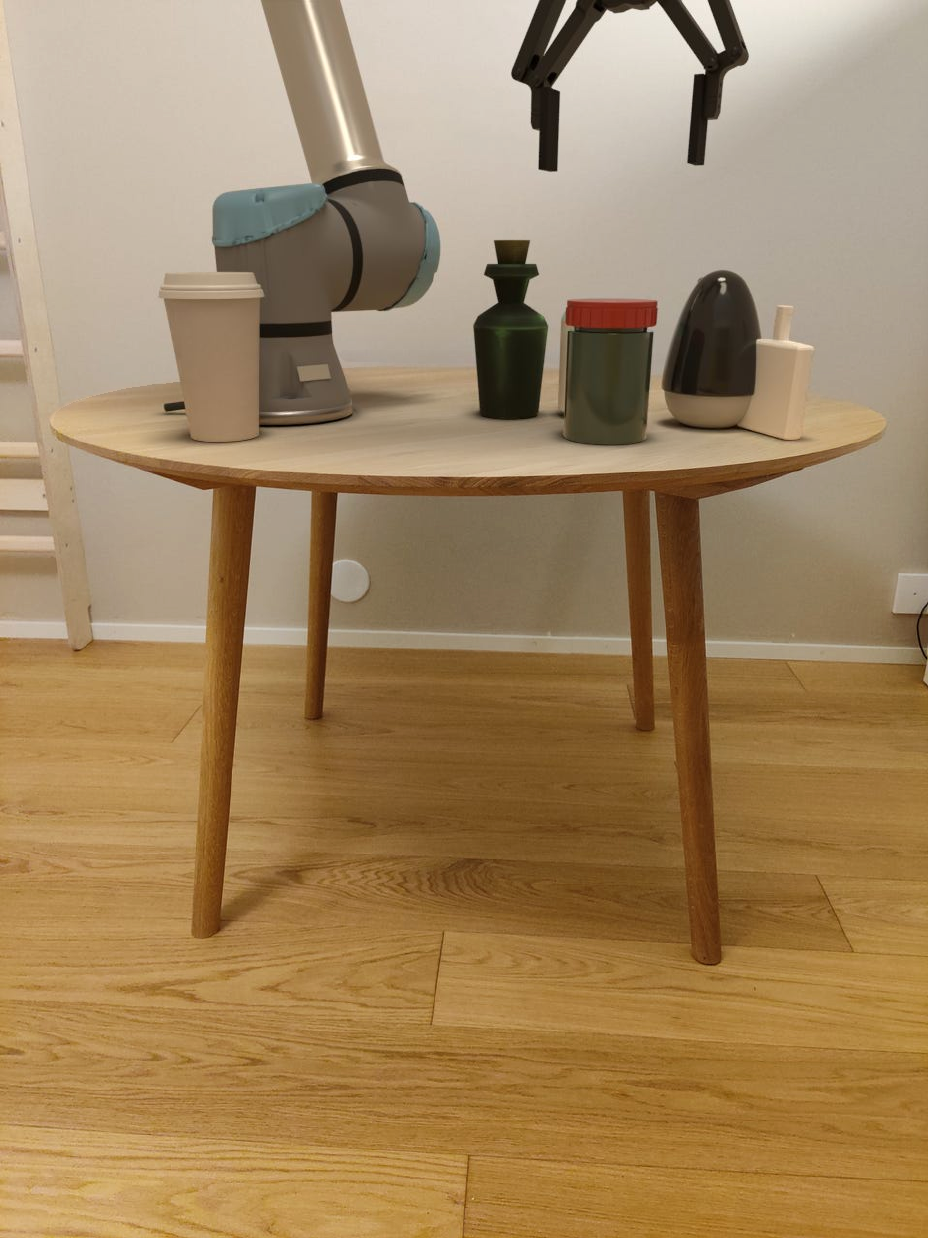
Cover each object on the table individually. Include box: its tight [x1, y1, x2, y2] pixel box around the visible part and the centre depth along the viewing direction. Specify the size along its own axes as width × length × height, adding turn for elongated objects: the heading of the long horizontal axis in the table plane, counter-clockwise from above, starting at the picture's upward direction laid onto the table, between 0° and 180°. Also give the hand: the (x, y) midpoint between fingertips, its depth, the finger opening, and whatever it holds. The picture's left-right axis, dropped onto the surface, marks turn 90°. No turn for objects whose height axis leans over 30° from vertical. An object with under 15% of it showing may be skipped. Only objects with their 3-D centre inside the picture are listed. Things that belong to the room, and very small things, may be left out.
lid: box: [565, 298, 659, 328], centre depth 86 cm, size 8×8×2 cm
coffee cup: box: [158, 271, 265, 443], centre depth 87 cm, size 10×10×15 cm
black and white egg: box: [661, 269, 763, 429], centre depth 94 cm, size 10×10×15 cm
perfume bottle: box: [736, 305, 815, 441], centre depth 90 cm, size 8×2×12 cm, turn 20°
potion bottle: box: [472, 239, 549, 420], centre depth 99 cm, size 8×8×18 cm
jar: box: [562, 327, 655, 446], centre depth 88 cm, size 8×8×12 cm
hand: (619, 167), depth 81 cm, fingers open, 13 cm apart
